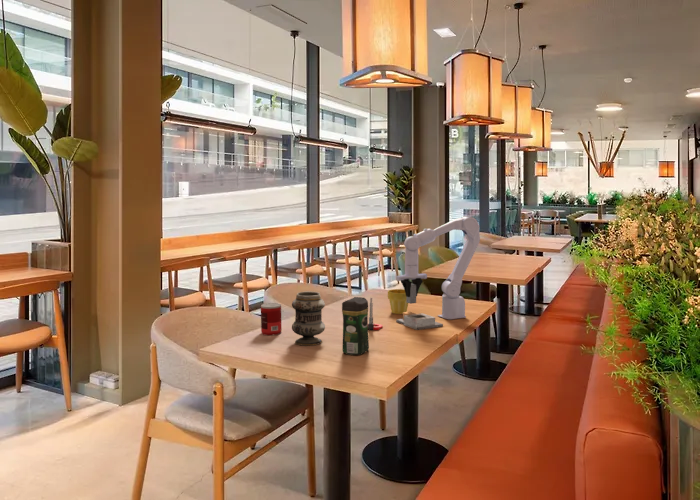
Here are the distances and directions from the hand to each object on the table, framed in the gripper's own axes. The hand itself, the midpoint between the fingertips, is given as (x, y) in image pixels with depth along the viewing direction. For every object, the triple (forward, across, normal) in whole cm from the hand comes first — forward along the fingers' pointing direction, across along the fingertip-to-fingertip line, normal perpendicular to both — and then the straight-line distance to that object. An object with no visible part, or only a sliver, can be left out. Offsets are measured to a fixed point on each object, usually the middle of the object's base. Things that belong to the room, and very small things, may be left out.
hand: (411, 296), depth 244 cm
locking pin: (+3, 0, 0) cm, 3 cm away
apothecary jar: (+10, +55, +16) cm, 58 cm away
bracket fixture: (+9, +4, +11) cm, 15 cm away
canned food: (+10, +62, -4) cm, 63 cm away
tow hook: (+10, +24, +7) cm, 27 cm away
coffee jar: (+10, +45, +35) cm, 58 cm away
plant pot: (+10, -1, -12) cm, 15 cm away
